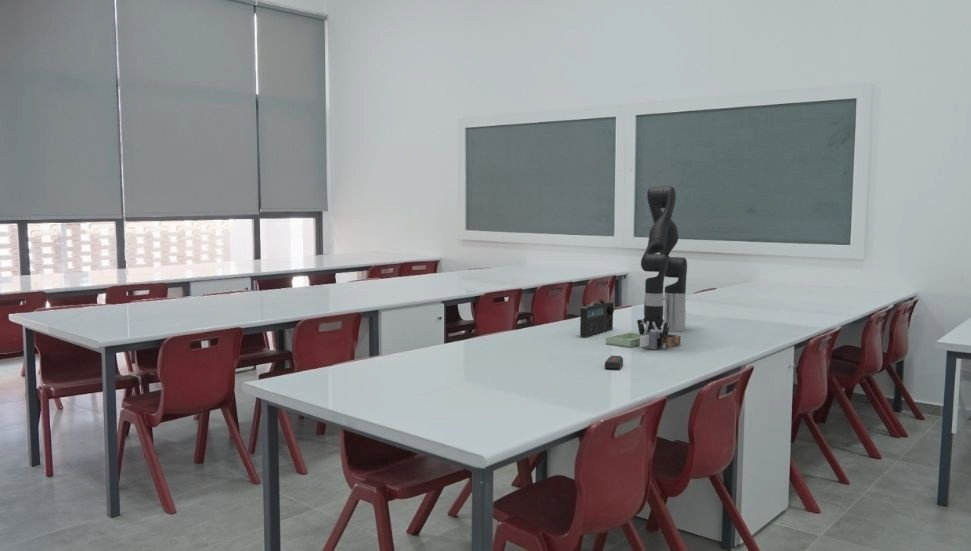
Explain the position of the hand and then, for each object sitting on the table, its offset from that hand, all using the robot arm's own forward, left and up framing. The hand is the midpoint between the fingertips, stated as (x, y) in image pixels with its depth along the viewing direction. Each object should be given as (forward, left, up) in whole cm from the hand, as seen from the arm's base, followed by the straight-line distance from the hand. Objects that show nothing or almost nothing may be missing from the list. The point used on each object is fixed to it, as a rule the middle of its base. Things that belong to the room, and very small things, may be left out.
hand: (652, 346), depth 315 cm
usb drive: (+38, +7, -1) cm, 39 cm away
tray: (-3, -13, -1) cm, 13 cm away
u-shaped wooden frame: (-8, 0, -1) cm, 8 cm away
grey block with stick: (0, 0, 0) cm, 1 cm away
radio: (-15, -37, -1) cm, 40 cm away
